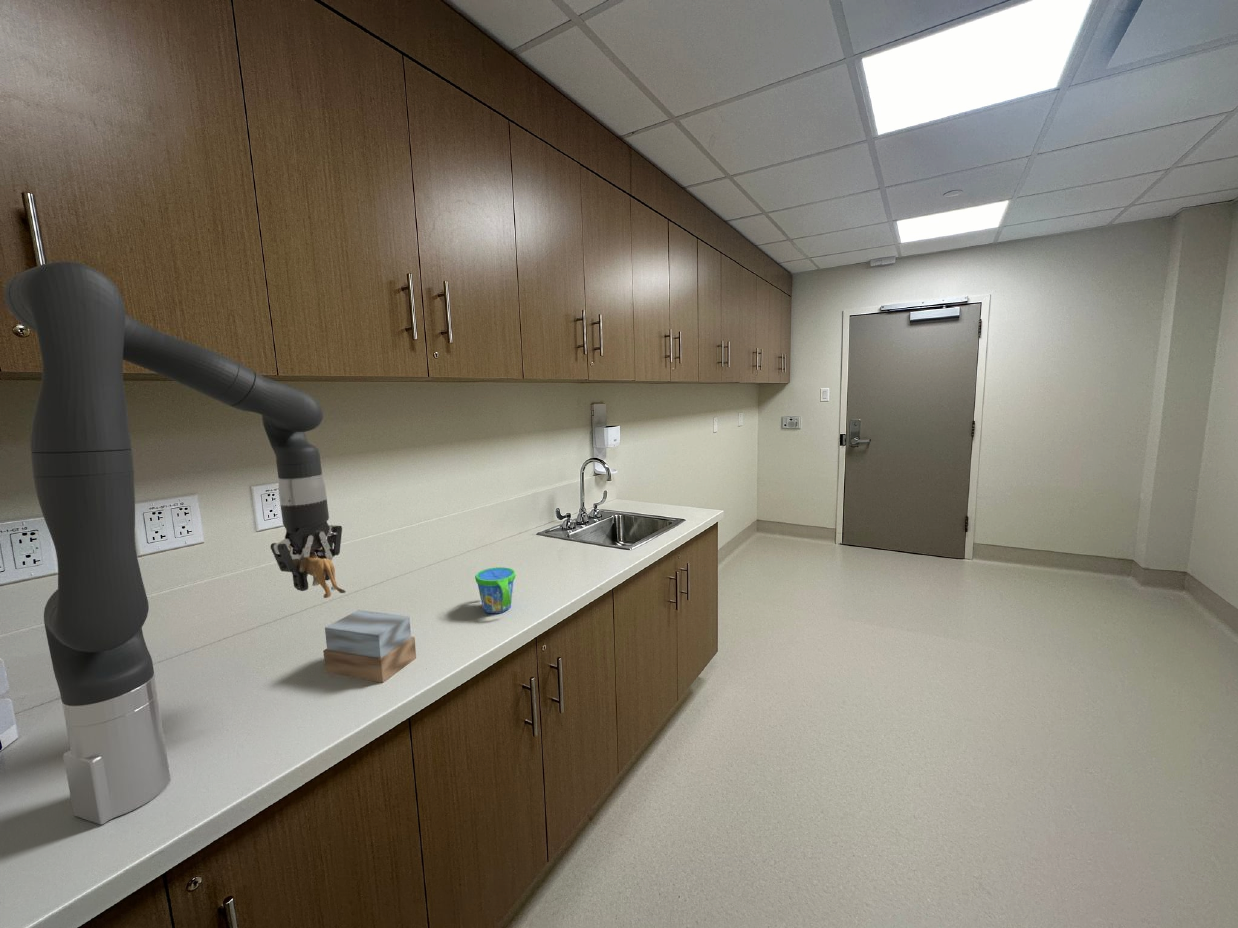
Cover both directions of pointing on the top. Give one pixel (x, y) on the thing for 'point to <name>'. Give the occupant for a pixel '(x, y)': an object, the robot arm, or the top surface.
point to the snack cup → (496, 588)
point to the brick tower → (369, 645)
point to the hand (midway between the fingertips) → (314, 584)
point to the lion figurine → (321, 572)
